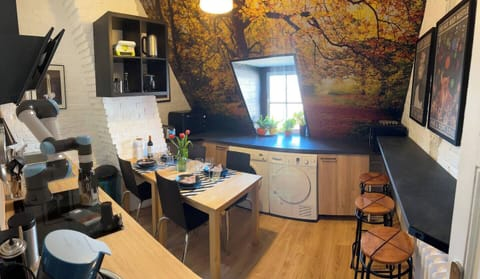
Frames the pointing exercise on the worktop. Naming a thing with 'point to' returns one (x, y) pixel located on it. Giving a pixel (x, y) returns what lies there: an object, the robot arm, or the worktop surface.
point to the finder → (76, 214)
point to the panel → (87, 217)
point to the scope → (109, 216)
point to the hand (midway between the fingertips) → (89, 196)
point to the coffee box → (87, 193)
